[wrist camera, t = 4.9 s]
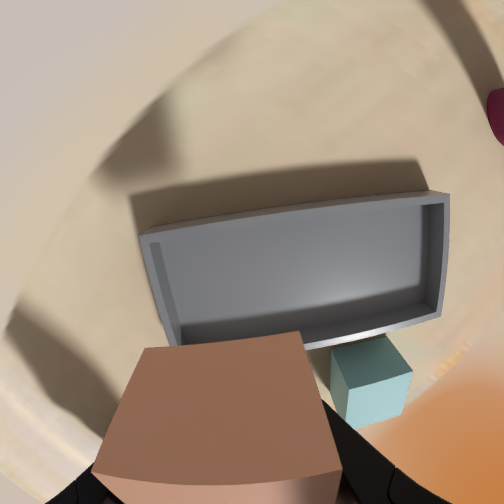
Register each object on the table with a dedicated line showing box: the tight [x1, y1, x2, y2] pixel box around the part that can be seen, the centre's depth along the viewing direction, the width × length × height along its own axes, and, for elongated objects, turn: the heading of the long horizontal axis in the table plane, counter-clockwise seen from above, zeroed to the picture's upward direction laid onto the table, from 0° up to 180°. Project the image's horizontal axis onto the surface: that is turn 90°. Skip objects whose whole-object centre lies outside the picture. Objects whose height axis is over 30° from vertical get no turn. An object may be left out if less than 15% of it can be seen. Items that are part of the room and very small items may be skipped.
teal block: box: [330, 336, 413, 429], centre depth 18 cm, size 4×4×4 cm
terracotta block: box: [91, 331, 343, 504], centre depth 6 cm, size 4×4×4 cm
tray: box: [139, 190, 450, 350], centre depth 16 cm, size 18×8×2 cm, turn 98°
